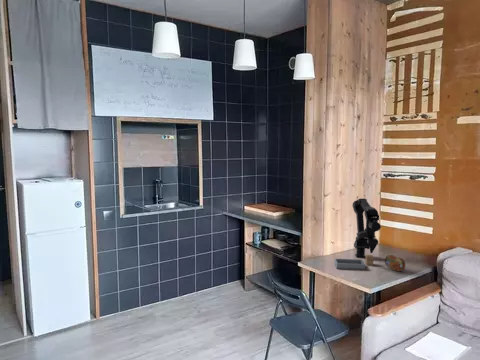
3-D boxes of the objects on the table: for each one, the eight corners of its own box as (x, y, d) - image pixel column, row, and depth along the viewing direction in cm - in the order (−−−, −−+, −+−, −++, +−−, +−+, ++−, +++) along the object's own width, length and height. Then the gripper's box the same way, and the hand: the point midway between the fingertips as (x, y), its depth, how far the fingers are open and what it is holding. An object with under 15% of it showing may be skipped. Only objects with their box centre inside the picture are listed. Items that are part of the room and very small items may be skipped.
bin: (334, 263, 246) (334, 258, 245) (361, 264, 244) (361, 259, 243) (336, 268, 235) (336, 263, 235) (365, 270, 233) (365, 264, 233)
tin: (384, 266, 242) (384, 253, 241) (388, 265, 243) (388, 252, 242) (402, 273, 228) (402, 259, 227) (405, 272, 229) (406, 259, 228)
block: (365, 263, 247) (365, 254, 247) (371, 263, 247) (371, 254, 246) (366, 265, 243) (367, 256, 243) (373, 265, 243) (373, 256, 242)
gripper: (355, 224, 253) (354, 246, 254) (360, 230, 234) (359, 254, 236) (371, 224, 252) (371, 247, 253) (379, 231, 233) (378, 255, 235)
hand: (369, 251), depth 244 cm, fingers open, 9 cm apart
